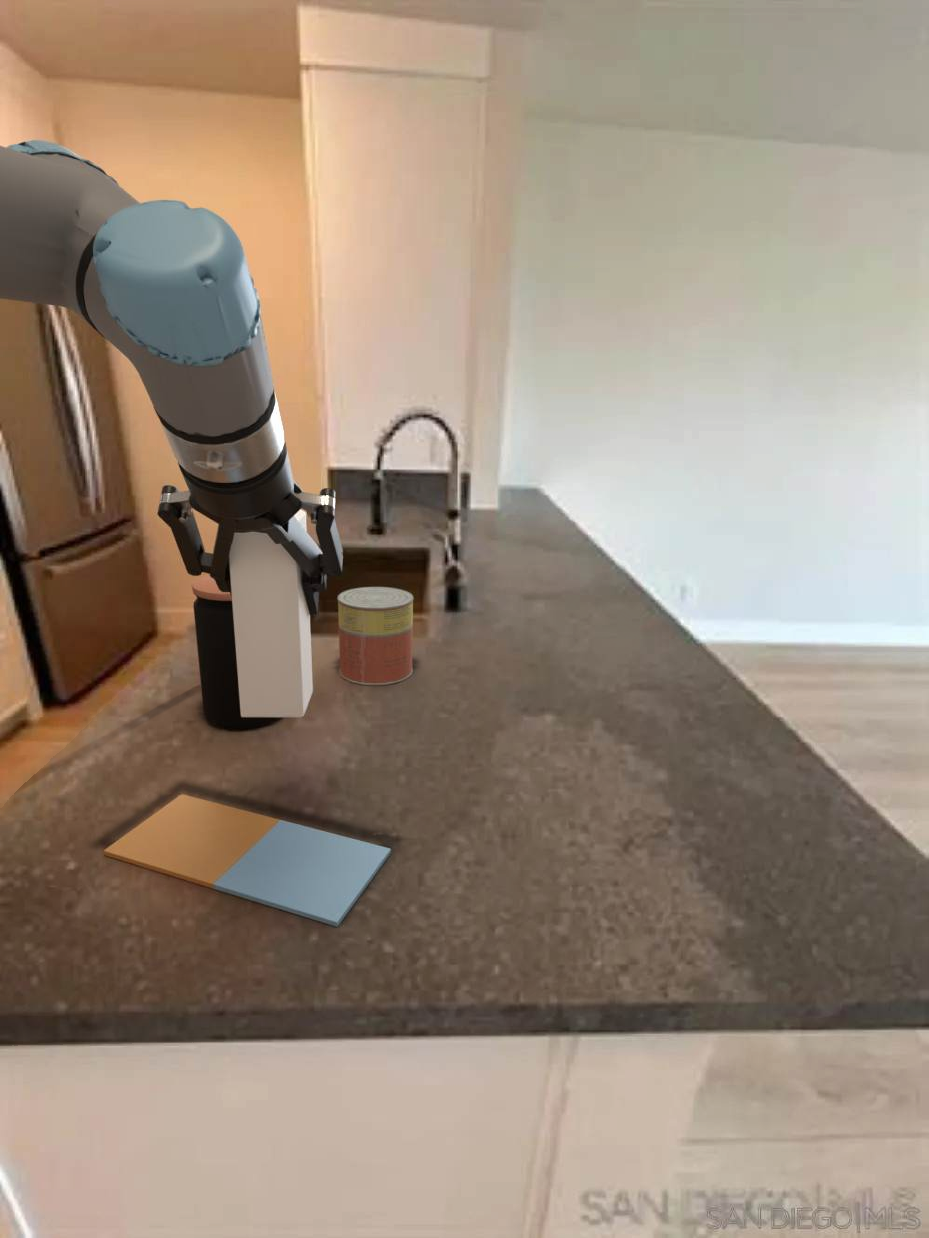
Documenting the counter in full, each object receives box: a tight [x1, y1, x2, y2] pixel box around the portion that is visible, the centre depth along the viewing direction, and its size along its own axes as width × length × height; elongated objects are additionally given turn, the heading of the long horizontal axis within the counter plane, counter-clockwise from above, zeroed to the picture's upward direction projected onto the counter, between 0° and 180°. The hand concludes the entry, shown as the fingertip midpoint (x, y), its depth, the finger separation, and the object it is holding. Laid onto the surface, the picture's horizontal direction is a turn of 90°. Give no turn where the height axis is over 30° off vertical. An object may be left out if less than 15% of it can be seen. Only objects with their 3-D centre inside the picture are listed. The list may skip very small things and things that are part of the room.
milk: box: [229, 509, 314, 718], centre depth 64 cm, size 6×6×22 cm
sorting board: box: [103, 793, 392, 928], centre depth 62 cm, size 24×10×1 cm, turn 70°
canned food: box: [337, 586, 415, 687], centre depth 102 cm, size 11×11×12 cm
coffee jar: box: [191, 575, 280, 731], centre depth 86 cm, size 11×11×18 cm
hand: (279, 602), depth 68 cm, fingers closed on milk, 6 cm apart
